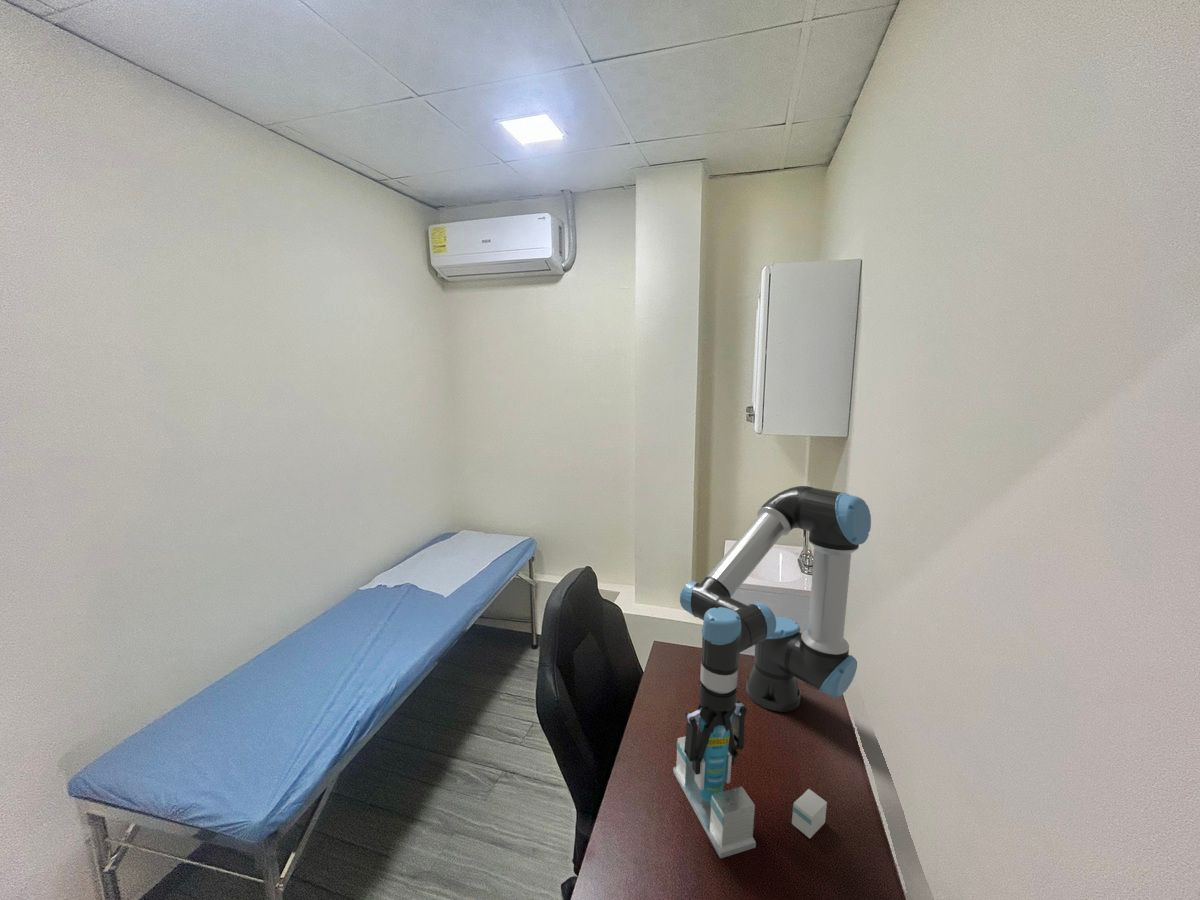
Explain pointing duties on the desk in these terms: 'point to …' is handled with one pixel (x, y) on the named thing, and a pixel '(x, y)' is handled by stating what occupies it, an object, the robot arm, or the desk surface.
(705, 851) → the desk surface
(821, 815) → the block
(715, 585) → the robot arm
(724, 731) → the tube
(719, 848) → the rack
